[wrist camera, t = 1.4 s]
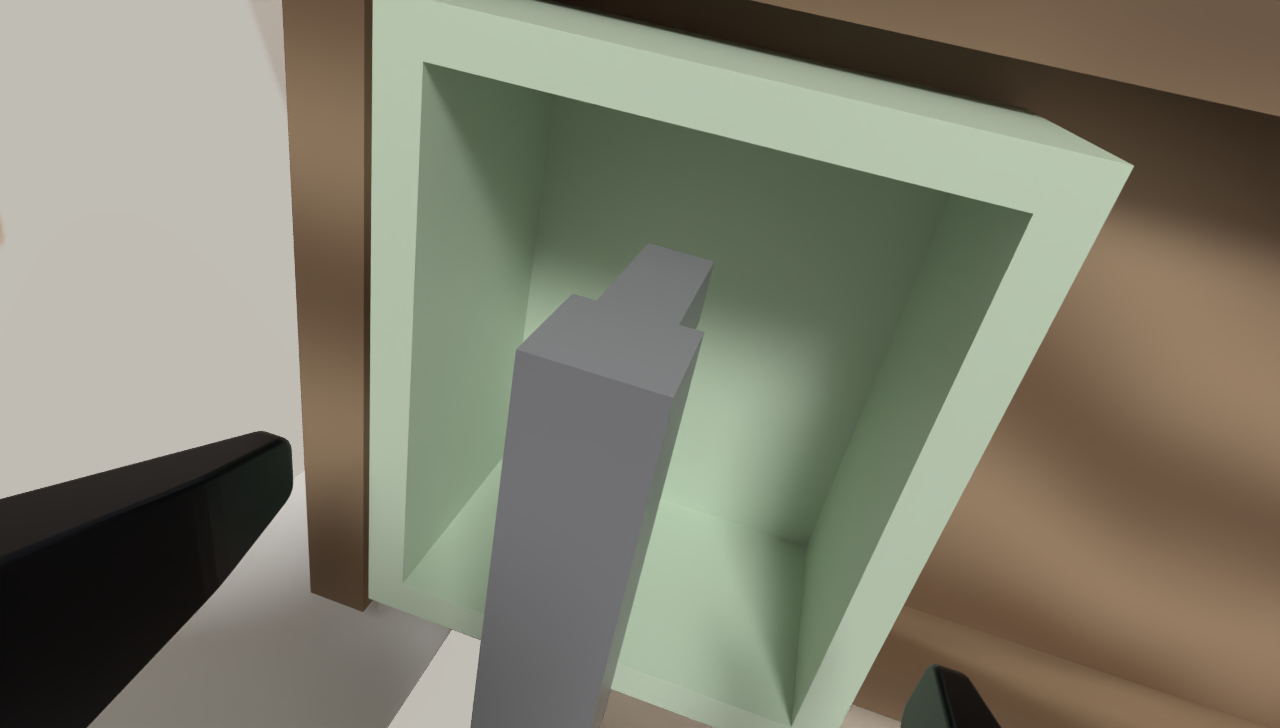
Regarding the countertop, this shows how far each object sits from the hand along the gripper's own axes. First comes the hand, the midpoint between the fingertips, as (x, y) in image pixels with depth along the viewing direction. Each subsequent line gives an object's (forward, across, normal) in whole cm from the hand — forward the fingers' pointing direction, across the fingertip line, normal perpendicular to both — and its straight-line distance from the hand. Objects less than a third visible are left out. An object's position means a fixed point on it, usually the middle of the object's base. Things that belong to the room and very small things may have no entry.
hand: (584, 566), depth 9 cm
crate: (+9, 0, 0) cm, 9 cm away
